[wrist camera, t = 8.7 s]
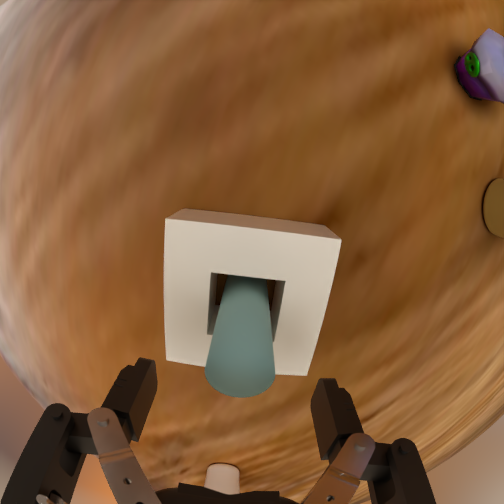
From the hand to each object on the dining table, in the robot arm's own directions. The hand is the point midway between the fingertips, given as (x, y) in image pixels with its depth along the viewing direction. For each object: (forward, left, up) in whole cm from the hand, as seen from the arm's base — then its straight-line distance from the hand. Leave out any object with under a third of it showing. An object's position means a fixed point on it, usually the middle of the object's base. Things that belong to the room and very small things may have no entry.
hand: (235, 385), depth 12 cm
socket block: (0, 0, -13) cm, 13 cm away
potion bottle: (-26, +22, -13) cm, 37 cm away
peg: (0, 0, -13) cm, 13 cm away
